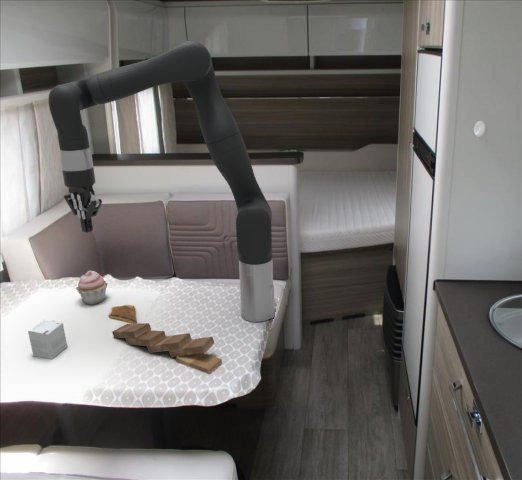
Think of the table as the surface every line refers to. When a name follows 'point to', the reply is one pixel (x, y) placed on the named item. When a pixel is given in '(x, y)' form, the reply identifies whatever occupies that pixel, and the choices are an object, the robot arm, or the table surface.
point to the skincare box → (47, 339)
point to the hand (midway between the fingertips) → (87, 231)
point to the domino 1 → (131, 330)
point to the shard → (124, 313)
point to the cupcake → (92, 288)
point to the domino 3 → (171, 343)
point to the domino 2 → (147, 338)
